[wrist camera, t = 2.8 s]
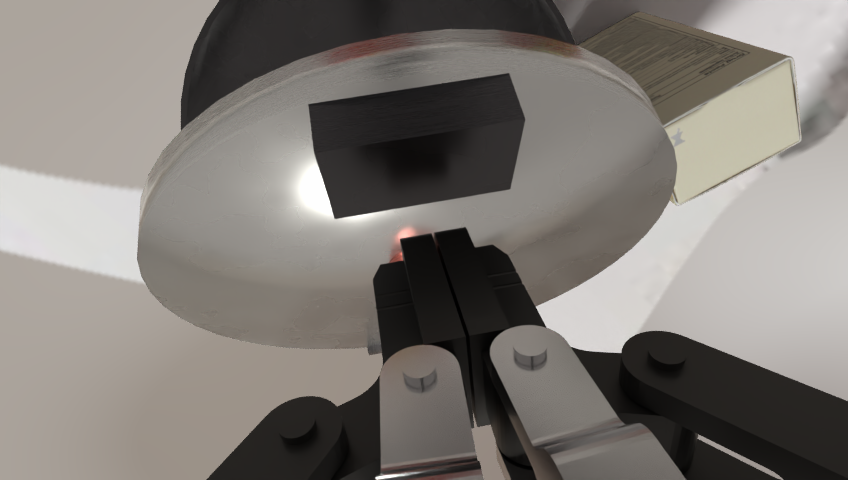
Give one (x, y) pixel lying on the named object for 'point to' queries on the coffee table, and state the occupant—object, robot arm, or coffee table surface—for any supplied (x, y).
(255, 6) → the cooker pot
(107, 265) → the coffee table surface
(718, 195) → the coffee table surface
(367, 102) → the cooker lid
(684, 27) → the skincare box
